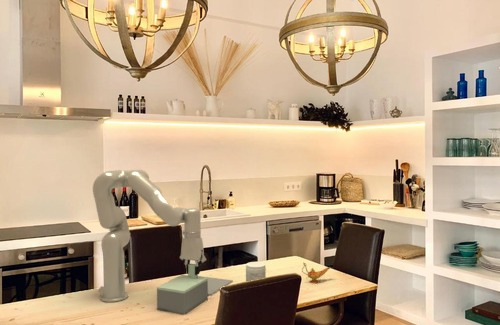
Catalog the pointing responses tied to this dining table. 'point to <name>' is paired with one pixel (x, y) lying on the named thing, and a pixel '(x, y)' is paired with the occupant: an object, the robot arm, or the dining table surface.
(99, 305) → the dining table surface
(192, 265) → the lid
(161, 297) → the parts tub
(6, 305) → the dining table surface
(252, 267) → the supplement tub
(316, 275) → the magic lamp
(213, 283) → the mat
